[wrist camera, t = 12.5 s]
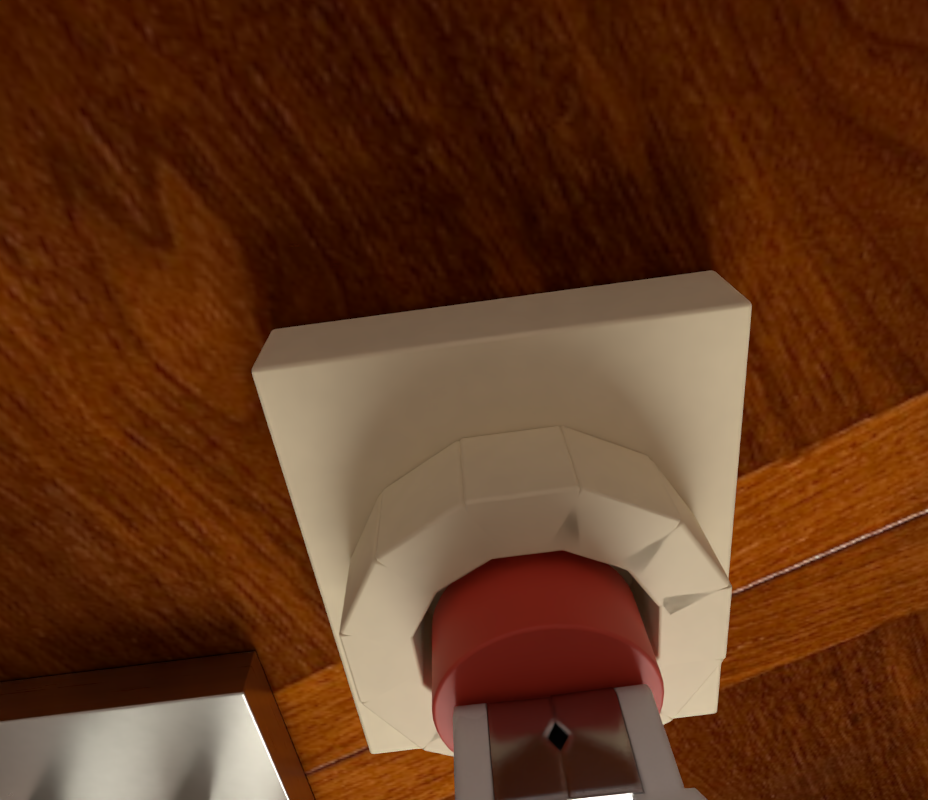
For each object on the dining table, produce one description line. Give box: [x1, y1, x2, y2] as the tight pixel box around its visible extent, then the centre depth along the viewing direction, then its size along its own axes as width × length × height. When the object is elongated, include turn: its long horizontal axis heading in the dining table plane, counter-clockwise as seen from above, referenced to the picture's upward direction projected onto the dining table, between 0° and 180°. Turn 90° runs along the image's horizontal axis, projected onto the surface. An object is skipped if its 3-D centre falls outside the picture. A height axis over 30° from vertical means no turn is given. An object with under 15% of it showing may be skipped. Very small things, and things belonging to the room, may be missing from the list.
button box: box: [252, 270, 752, 757], centre depth 13 cm, size 10×8×4 cm
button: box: [432, 550, 664, 753], centre depth 11 cm, size 4×4×2 cm
